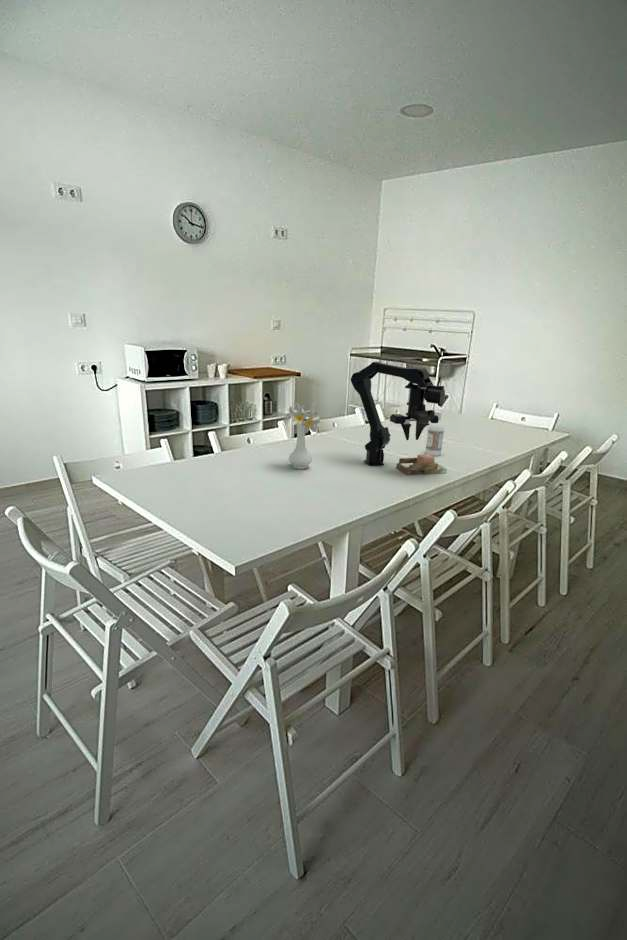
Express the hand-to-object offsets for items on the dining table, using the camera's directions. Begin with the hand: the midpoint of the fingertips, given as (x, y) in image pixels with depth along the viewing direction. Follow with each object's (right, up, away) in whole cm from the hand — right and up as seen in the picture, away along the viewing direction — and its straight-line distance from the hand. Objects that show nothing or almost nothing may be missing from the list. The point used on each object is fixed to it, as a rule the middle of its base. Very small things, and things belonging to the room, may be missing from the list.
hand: (412, 439), depth 192 cm
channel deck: (+5, -12, +6) cm, 14 cm away
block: (+6, -10, +5) cm, 13 cm away
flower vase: (-44, -11, +2) cm, 45 cm away
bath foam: (+16, -5, +31) cm, 35 cm away
